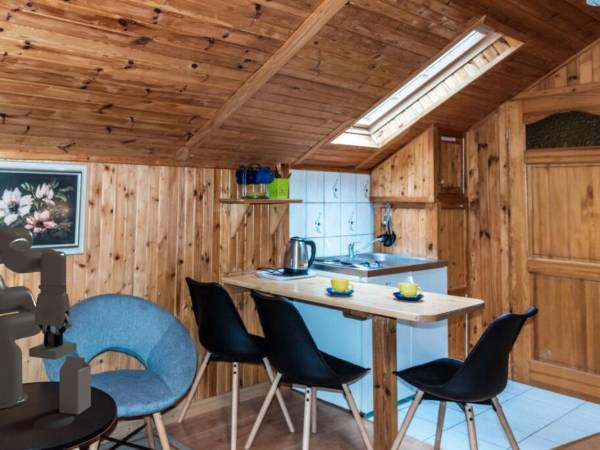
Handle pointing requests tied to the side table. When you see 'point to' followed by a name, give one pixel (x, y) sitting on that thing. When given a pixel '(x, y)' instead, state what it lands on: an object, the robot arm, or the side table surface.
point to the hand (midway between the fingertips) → (53, 344)
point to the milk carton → (75, 385)
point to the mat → (54, 421)
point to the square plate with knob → (52, 349)
